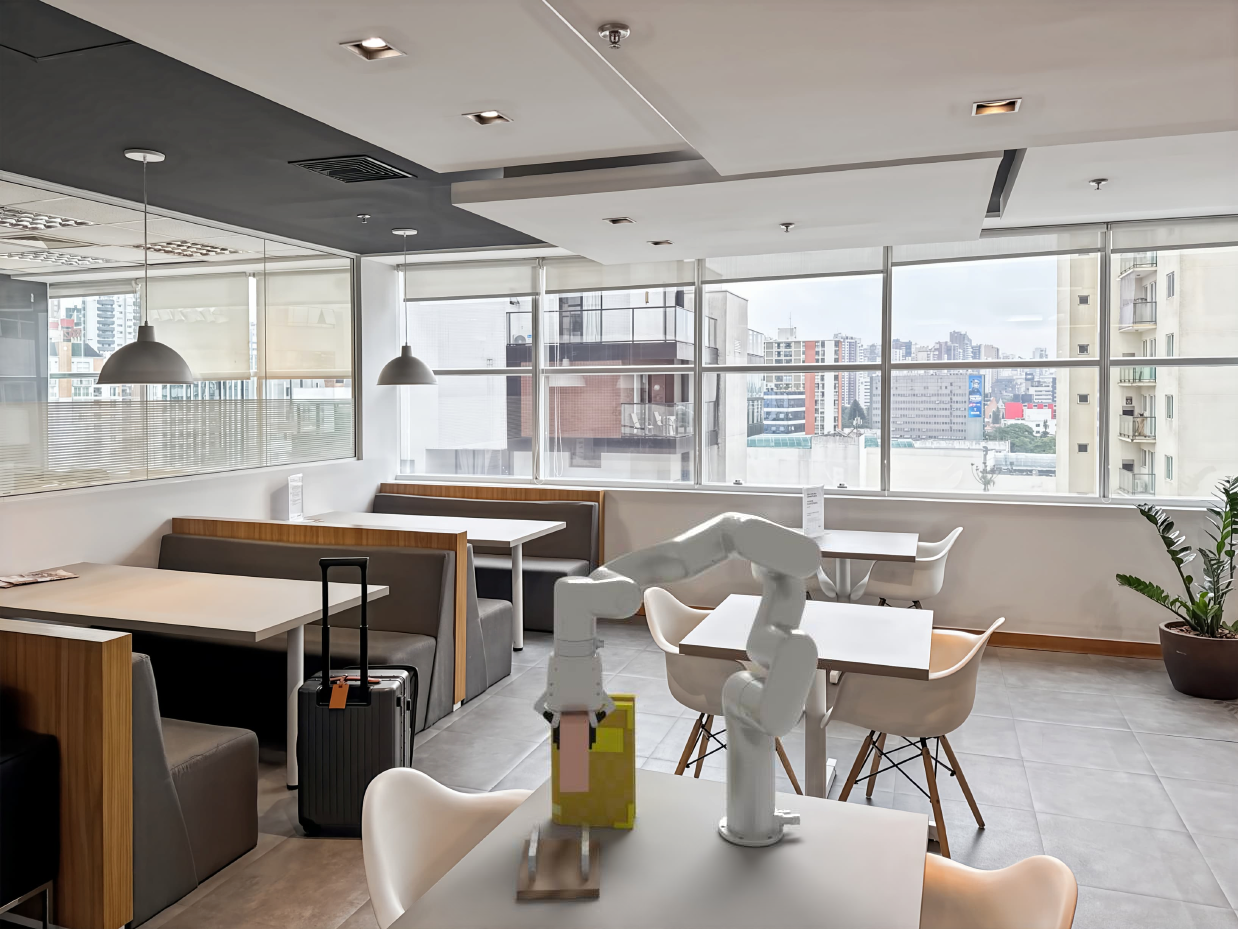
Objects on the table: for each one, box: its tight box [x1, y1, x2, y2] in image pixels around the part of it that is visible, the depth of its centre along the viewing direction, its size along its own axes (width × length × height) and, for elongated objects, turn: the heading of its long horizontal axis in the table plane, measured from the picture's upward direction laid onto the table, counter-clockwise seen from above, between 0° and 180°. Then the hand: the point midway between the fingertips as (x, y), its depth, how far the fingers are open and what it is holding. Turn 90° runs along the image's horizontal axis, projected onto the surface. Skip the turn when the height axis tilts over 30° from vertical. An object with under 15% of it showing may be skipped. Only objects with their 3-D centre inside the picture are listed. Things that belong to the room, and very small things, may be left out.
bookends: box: [528, 822, 590, 881], centre depth 155 cm, size 10×12×4 cm
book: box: [550, 693, 637, 829], centre depth 174 cm, size 17×7×25 cm, turn 84°
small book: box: [560, 711, 589, 792], centre depth 154 cm, size 5×11×12 cm, turn 2°
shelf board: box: [516, 837, 600, 900], centre depth 155 cm, size 14×18×2 cm
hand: (574, 746), depth 154 cm, fingers closed on small book, 5 cm apart
